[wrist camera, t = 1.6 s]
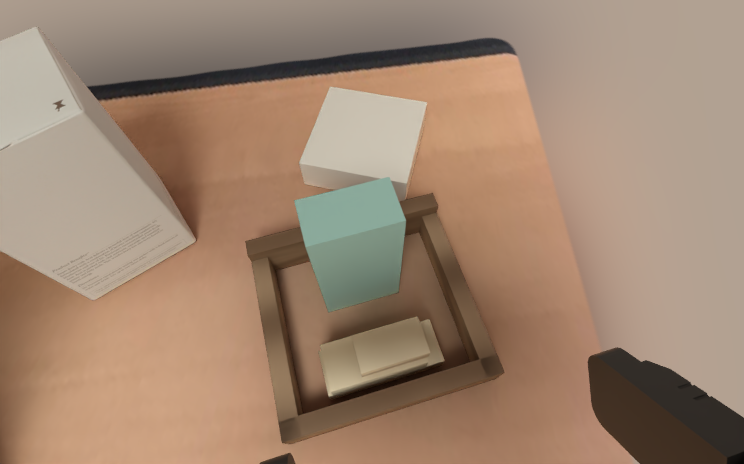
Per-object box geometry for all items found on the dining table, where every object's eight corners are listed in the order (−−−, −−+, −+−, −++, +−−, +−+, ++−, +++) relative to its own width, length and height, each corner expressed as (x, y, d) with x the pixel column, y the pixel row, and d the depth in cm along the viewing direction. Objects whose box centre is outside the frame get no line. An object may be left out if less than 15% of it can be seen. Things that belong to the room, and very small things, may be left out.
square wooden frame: (495, 378, 29) (508, 369, 26) (289, 444, 27) (278, 442, 24) (428, 216, 35) (432, 193, 32) (257, 261, 34) (245, 241, 31)
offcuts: (441, 365, 29) (450, 351, 26) (330, 399, 29) (323, 390, 25) (427, 324, 31) (433, 306, 27) (321, 356, 30) (312, 341, 26)
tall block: (398, 292, 32) (406, 220, 22) (328, 312, 31) (305, 247, 22) (386, 258, 34) (389, 176, 24) (319, 276, 33) (294, 200, 23)
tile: (304, 184, 37) (299, 163, 34) (333, 110, 41) (330, 86, 39) (405, 203, 36) (406, 183, 33) (424, 125, 40) (427, 102, 37)
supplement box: (158, 171, 38) (40, 18, 25) (199, 242, 35) (88, 109, 21) (56, 222, 36) (-133, 84, 23) (90, 305, 32) (-112, 197, 19)
